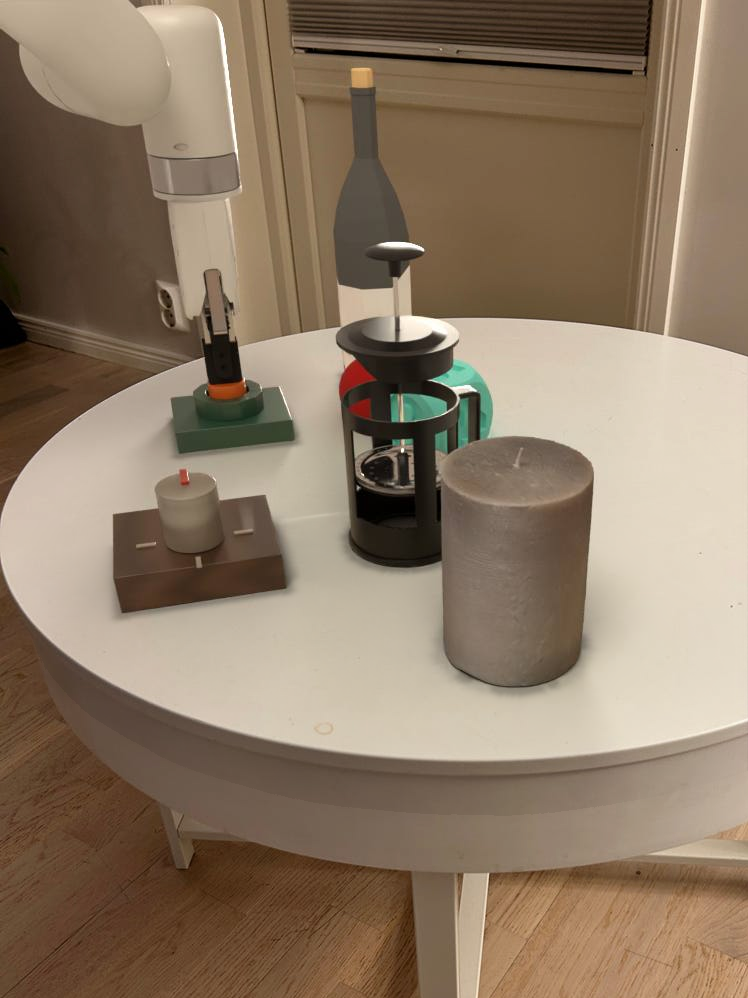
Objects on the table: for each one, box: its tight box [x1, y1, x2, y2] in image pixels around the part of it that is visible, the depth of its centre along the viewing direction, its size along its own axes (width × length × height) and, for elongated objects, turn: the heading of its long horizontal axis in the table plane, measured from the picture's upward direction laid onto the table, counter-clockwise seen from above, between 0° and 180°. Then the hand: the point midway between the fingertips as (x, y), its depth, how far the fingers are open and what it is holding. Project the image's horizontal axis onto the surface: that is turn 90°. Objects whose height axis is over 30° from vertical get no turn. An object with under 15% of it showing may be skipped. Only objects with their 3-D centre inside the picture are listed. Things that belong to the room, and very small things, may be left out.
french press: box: [335, 242, 481, 568], centre depth 75 cm, size 12×9×23 cm
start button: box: [206, 376, 247, 399], centre depth 97 cm, size 4×4×2 cm
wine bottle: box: [332, 67, 413, 371], centre depth 102 cm, size 8×8×30 cm
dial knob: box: [154, 468, 225, 553], centre depth 74 cm, size 4×4×5 cm
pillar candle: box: [438, 435, 595, 687], centre depth 65 cm, size 10×10×15 cm
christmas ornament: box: [338, 359, 376, 419], centre depth 97 cm, size 7×7×10 cm
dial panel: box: [112, 494, 287, 613], centre depth 77 cm, size 12×10×3 cm
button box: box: [170, 379, 295, 455], centre depth 98 cm, size 11×9×4 cm
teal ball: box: [390, 358, 494, 453], centre depth 93 cm, size 8×8×8 cm
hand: (225, 380), depth 96 cm, fingers closed
